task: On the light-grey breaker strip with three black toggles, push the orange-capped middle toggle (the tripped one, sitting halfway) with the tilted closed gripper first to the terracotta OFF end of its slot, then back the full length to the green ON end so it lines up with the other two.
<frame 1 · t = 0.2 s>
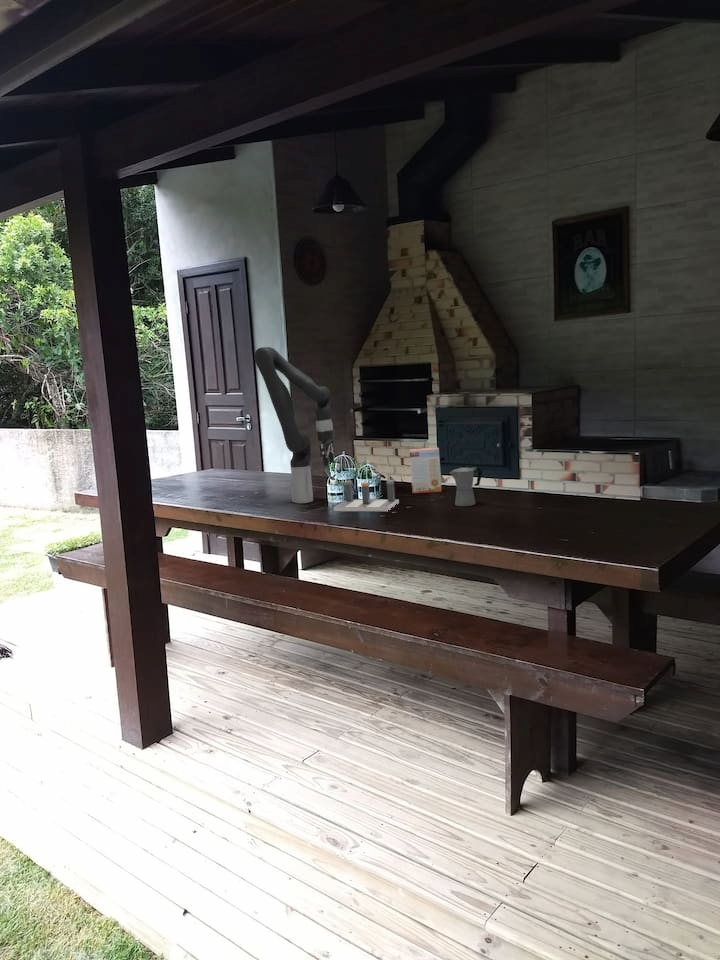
hand: (329, 464, 348), 18 cm above the table, tool pointing down, fingers open, 8 cm apart
tripped breaker: (365, 492, 332), point 6 cm above the table, slide at 5.5 cm
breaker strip: (366, 507, 333), on the table
coffeepot: (467, 504, 324), on the table
cracker box: (427, 492, 358), on the table
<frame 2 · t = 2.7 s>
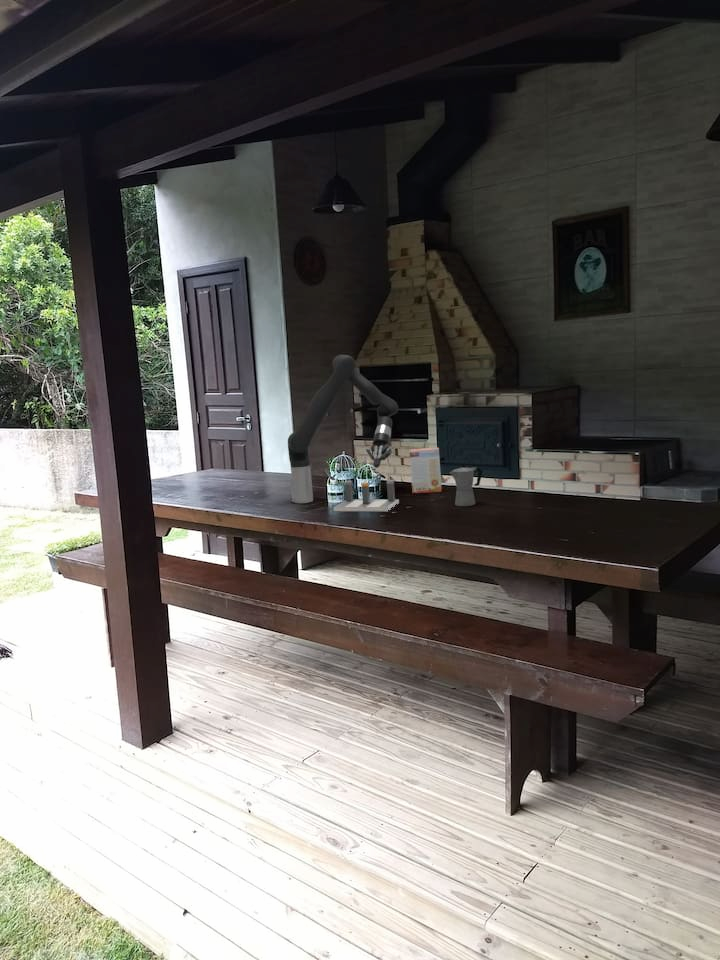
hand: (376, 466, 345), 15 cm above the table, tool tilted 45°, fingers closed
nothing on the table moved.
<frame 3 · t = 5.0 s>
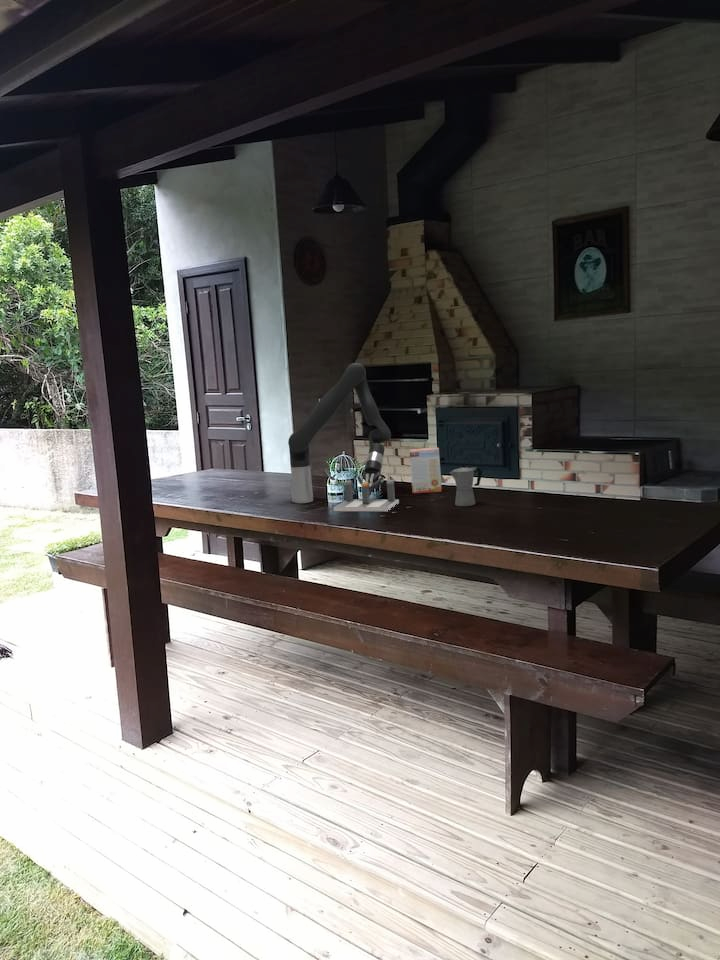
hand: (367, 495, 334), 5 cm above the table, tool tilted 45°, fingers closed
tripped breaker: (365, 493, 331), point 6 cm above the table, slide at 5.3 cm, touching gripper
everything else where it was.
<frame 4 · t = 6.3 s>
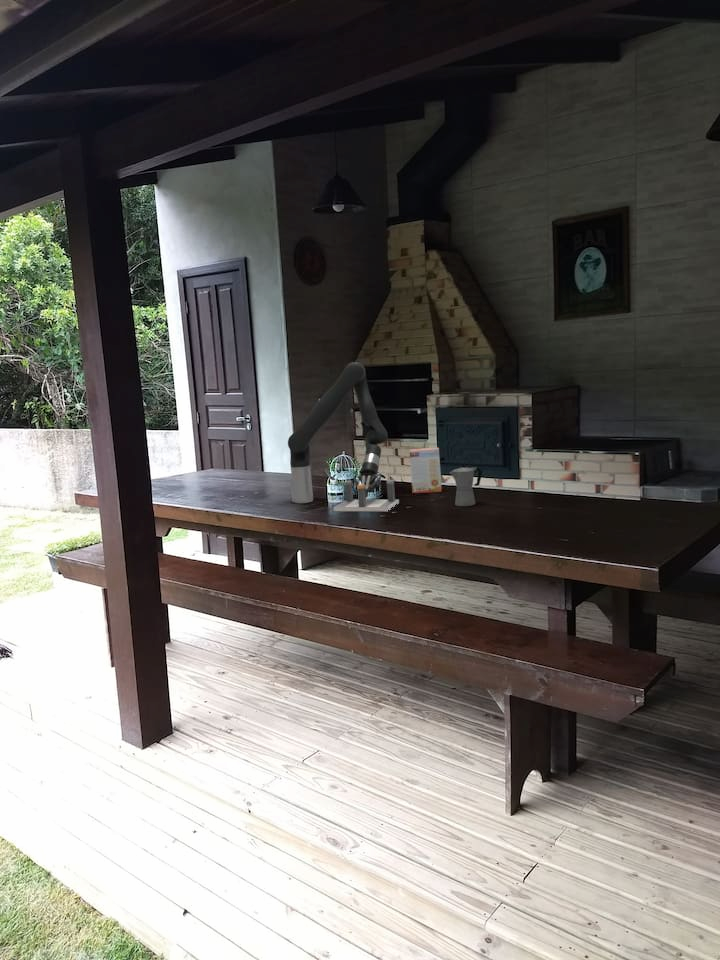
hand: (363, 497, 329), 5 cm above the table, tool tilted 45°, fingers closed
tripped breaker: (361, 495, 327), point 6 cm above the table, slide at 0.2 cm, touching gripper
everything else where it was.
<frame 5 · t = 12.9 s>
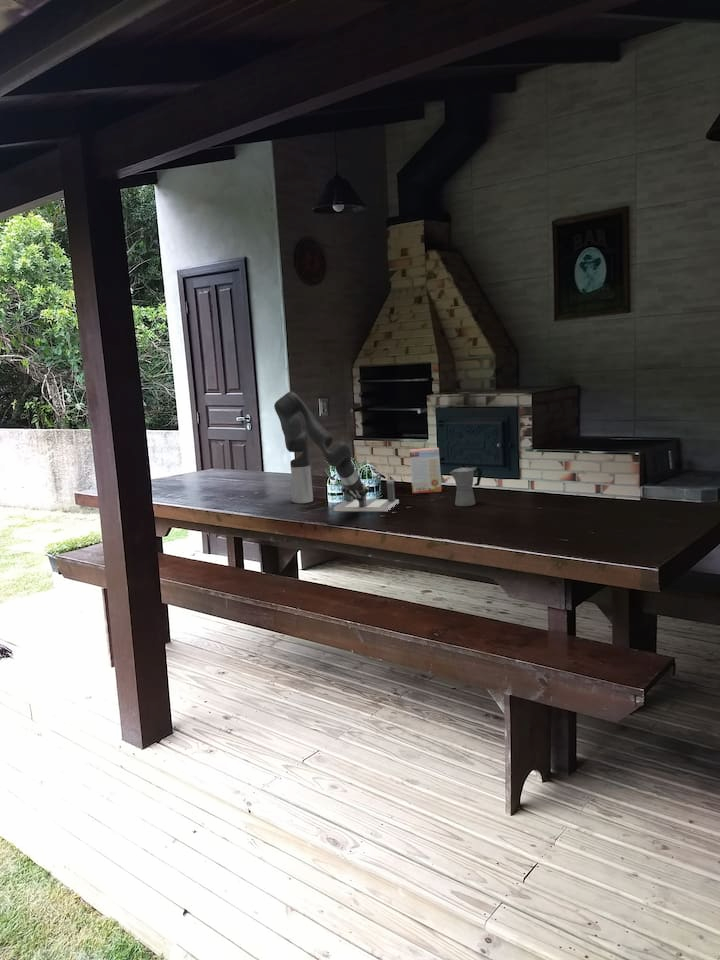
hand: (361, 500, 325), 5 cm above the table, tool tilted 45°, fingers closed
tripped breaker: (362, 495, 327), point 6 cm above the table, slide at 0.6 cm, touching gripper
everything else where it was.
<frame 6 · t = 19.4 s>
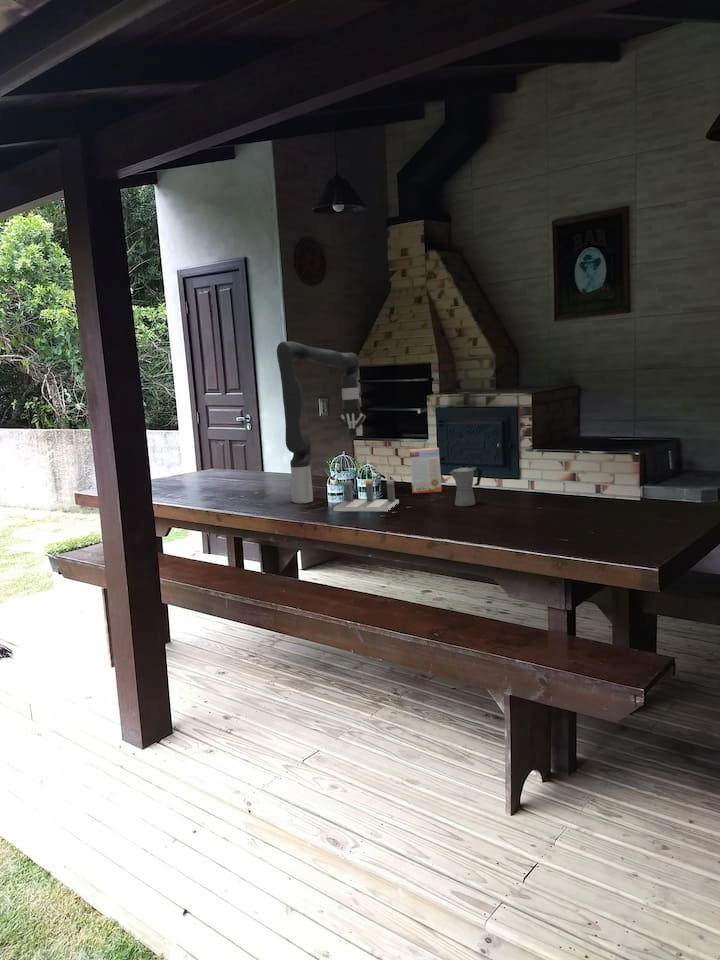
hand: (353, 436, 335), 31 cm above the table, tool pointing down, fingers closed
tripped breaker: (369, 490, 337), point 6 cm above the table, slide at 11.0 cm
everything else where it was.
at the end: tripped breaker slide at 11.0 cm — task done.
